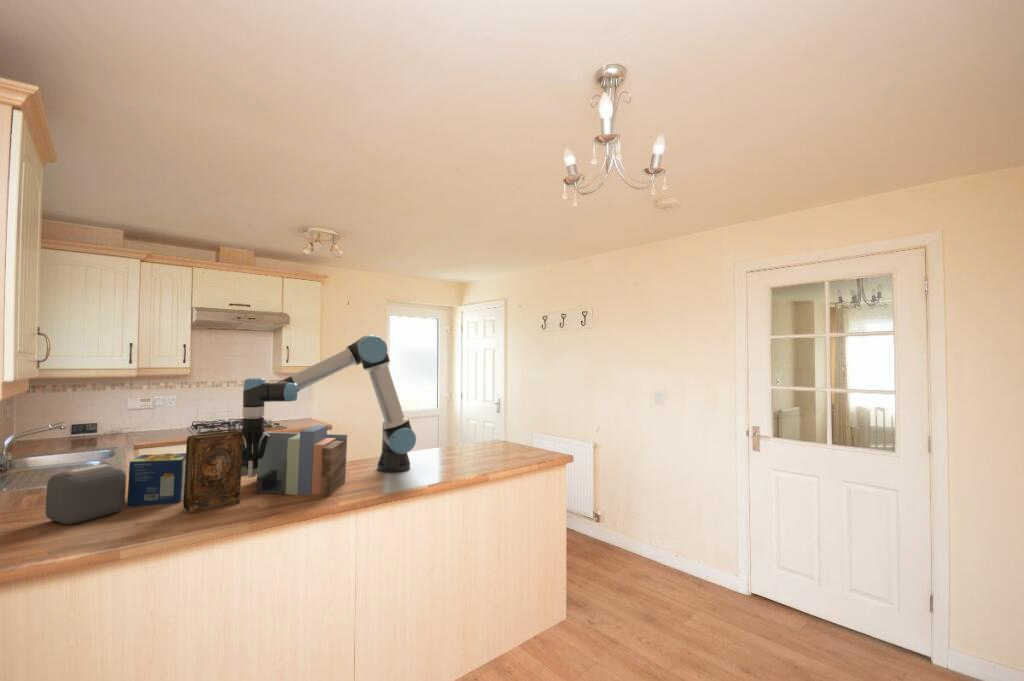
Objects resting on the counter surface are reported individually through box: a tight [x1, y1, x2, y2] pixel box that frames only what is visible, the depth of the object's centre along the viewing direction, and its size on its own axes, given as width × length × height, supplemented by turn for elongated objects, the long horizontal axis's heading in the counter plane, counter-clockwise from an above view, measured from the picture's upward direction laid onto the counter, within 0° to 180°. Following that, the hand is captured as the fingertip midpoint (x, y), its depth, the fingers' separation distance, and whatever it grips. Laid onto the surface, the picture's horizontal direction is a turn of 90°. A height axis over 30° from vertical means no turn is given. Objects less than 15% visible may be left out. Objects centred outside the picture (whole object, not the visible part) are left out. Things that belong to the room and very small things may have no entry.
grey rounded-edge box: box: [45, 463, 127, 525], centre depth 149 cm, size 16×11×16 cm
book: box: [182, 430, 244, 514], centre depth 162 cm, size 16×6×25 cm, turn 143°
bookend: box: [254, 457, 287, 495], centre depth 185 cm, size 12×16×13 cm
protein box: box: [126, 452, 186, 507], centre depth 166 cm, size 10×15×16 cm
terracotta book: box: [311, 438, 336, 496], centre depth 185 cm, size 4×14×19 cm, turn 2°
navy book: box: [297, 424, 328, 496], centre depth 185 cm, size 5×15×24 cm, turn 2°
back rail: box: [256, 431, 348, 484], centre depth 194 cm, size 36×1×20 cm, turn 92°
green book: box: [284, 434, 300, 496], centre depth 185 cm, size 4×15×21 cm, turn 2°
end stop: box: [320, 440, 346, 497], centre depth 186 cm, size 4×17×18 cm, turn 2°
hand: (251, 476), depth 184 cm, fingers closed
